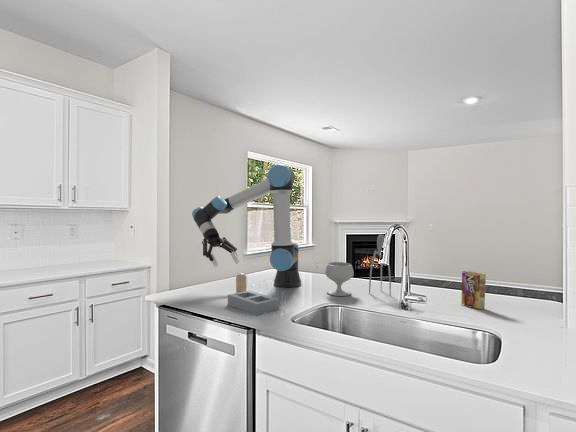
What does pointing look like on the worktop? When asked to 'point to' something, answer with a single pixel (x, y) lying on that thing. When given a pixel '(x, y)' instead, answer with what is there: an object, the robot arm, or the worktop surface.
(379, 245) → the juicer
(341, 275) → the chalice
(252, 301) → the divided tray
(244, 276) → the peach dome-topped cylinder
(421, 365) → the worktop surface
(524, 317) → the worktop surface
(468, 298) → the candy box
